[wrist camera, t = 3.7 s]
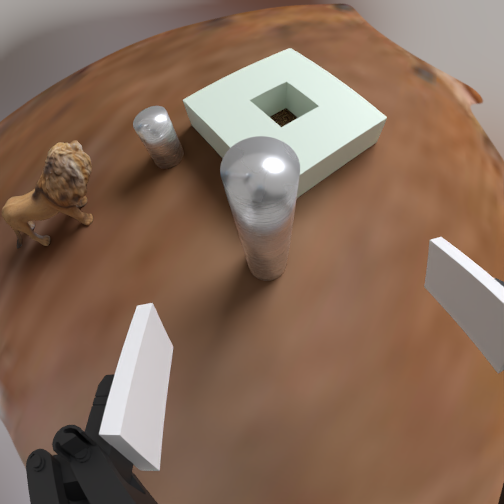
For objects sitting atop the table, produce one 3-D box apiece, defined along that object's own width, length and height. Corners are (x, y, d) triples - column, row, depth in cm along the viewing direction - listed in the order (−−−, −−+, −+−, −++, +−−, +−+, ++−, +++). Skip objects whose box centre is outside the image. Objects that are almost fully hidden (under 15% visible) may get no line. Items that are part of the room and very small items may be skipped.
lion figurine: (112, 170, 29) (71, 119, 21) (122, 208, 28) (75, 159, 19) (19, 232, 28) (-30, 201, 20) (23, 270, 27) (-33, 245, 18)
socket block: (191, 125, 30) (182, 100, 26) (289, 72, 32) (290, 48, 28) (273, 215, 26) (273, 193, 22) (376, 142, 28) (387, 117, 24)
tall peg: (240, 258, 25) (205, 163, 12) (270, 236, 26) (266, 125, 12) (263, 288, 24) (252, 218, 11) (294, 264, 25) (316, 172, 11)
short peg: (149, 155, 29) (128, 120, 24) (174, 139, 30) (157, 101, 24) (163, 174, 28) (141, 138, 23) (189, 156, 29) (173, 117, 23)
